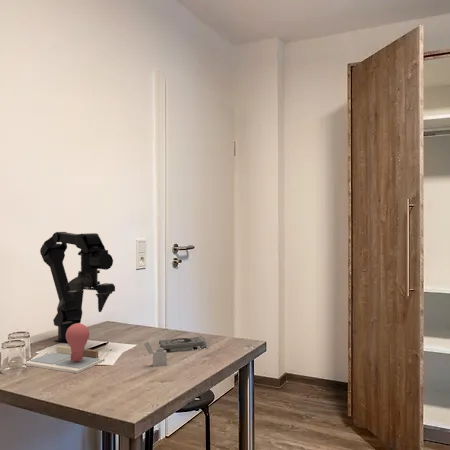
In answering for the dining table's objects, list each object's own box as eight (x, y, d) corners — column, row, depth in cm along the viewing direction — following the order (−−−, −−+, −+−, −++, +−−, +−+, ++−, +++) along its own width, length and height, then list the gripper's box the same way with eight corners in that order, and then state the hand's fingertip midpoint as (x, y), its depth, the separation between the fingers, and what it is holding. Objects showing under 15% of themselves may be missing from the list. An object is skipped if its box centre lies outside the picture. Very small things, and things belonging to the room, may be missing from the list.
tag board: (24, 365, 143) (24, 354, 143) (54, 353, 155) (54, 344, 155) (76, 373, 135) (76, 362, 135) (104, 360, 147) (104, 351, 147)
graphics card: (201, 332, 172) (209, 339, 161) (201, 342, 172) (209, 350, 160) (157, 336, 167) (162, 344, 155) (157, 347, 167) (162, 355, 155)
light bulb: (94, 360, 145) (94, 322, 145) (76, 366, 138) (76, 327, 138) (78, 356, 148) (78, 320, 148) (60, 362, 142) (60, 324, 142)
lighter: (165, 363, 144) (165, 338, 144) (166, 365, 143) (166, 339, 143) (143, 365, 143) (143, 340, 142) (143, 367, 141) (143, 341, 141)
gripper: (52, 269, 160) (53, 313, 160) (95, 271, 153) (95, 317, 153) (74, 266, 170) (75, 307, 170) (115, 268, 163) (116, 311, 163)
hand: (89, 311), depth 164 cm, fingers open, 9 cm apart
